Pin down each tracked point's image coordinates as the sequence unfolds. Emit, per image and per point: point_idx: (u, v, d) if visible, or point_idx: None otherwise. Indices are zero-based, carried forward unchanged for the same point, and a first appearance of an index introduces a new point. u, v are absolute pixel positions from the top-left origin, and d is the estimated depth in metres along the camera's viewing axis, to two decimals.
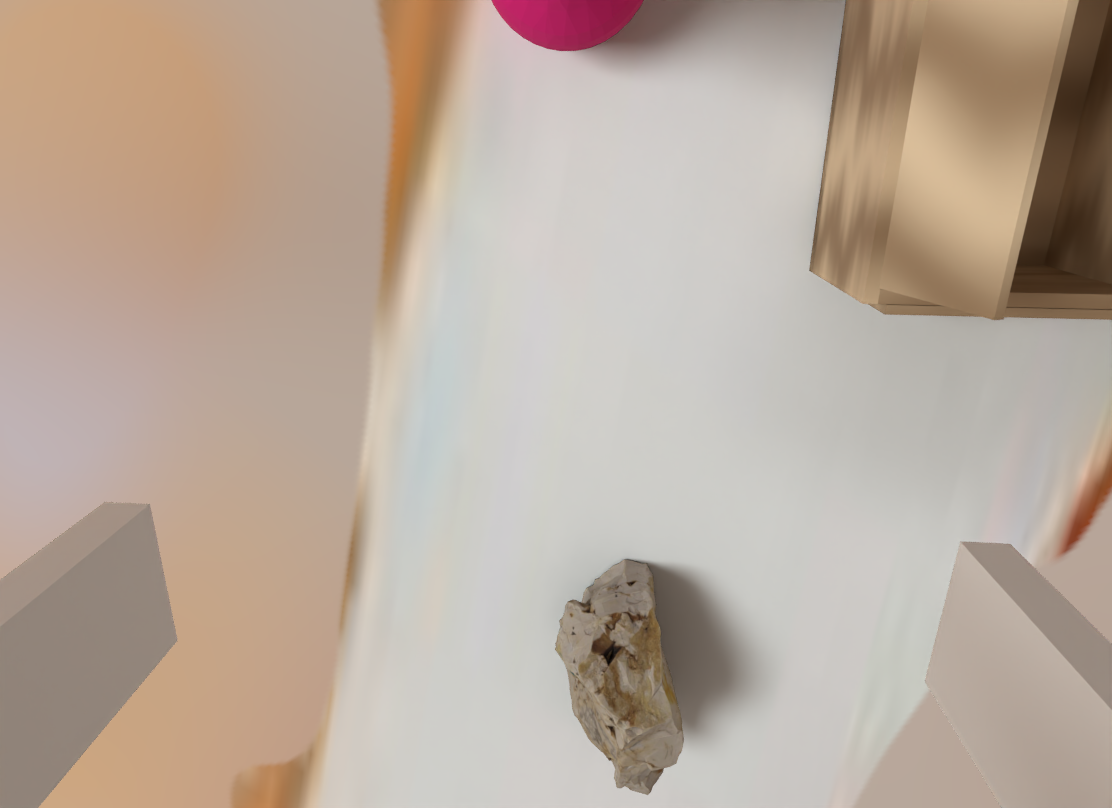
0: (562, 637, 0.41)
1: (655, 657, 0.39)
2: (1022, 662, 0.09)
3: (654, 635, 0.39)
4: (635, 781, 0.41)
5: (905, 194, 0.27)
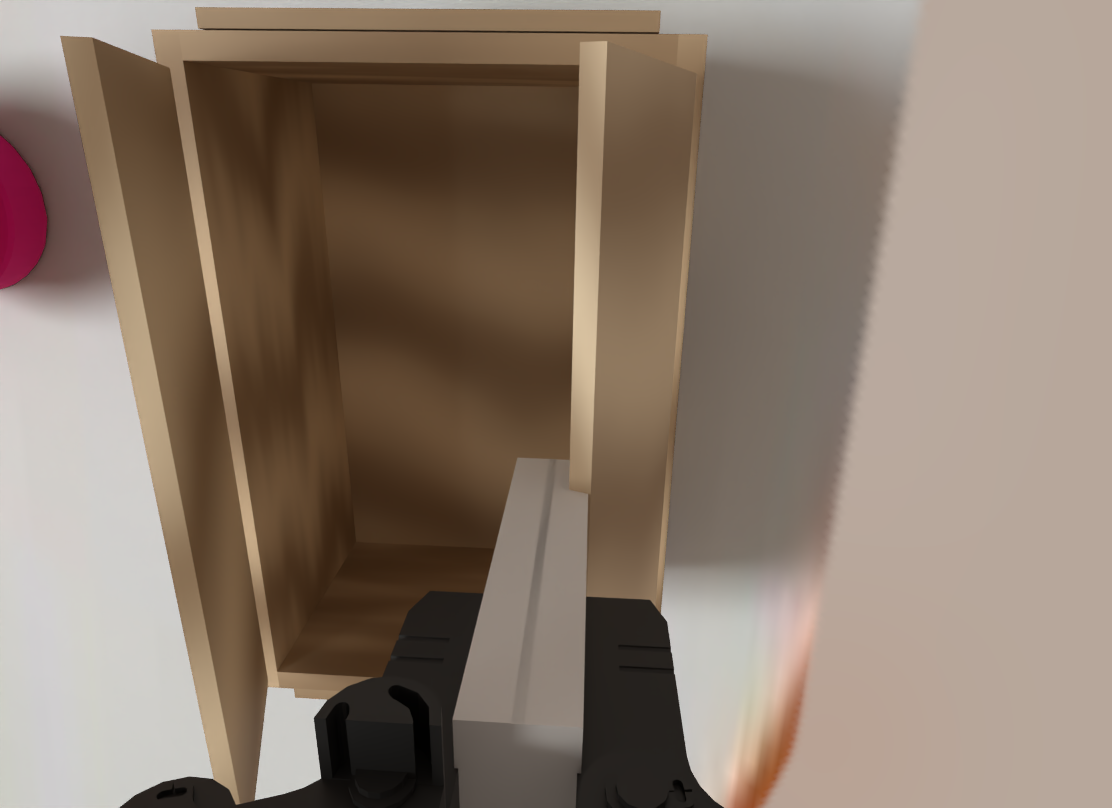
0: None
1: None
2: None
3: None
4: None
5: None
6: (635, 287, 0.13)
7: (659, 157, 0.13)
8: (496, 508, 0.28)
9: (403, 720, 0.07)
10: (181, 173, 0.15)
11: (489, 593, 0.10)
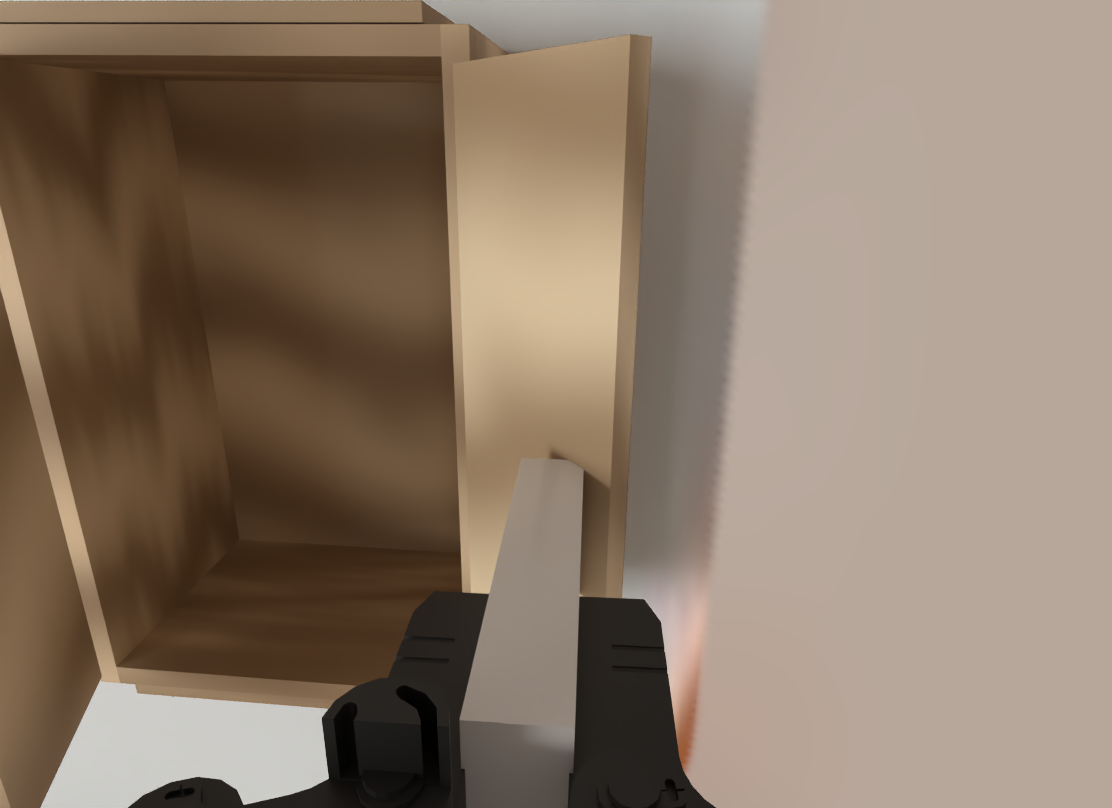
0: None
1: None
2: None
3: None
4: None
5: None
6: None
7: None
8: (374, 507, 0.27)
9: (411, 721, 0.07)
10: None
11: (494, 594, 0.10)
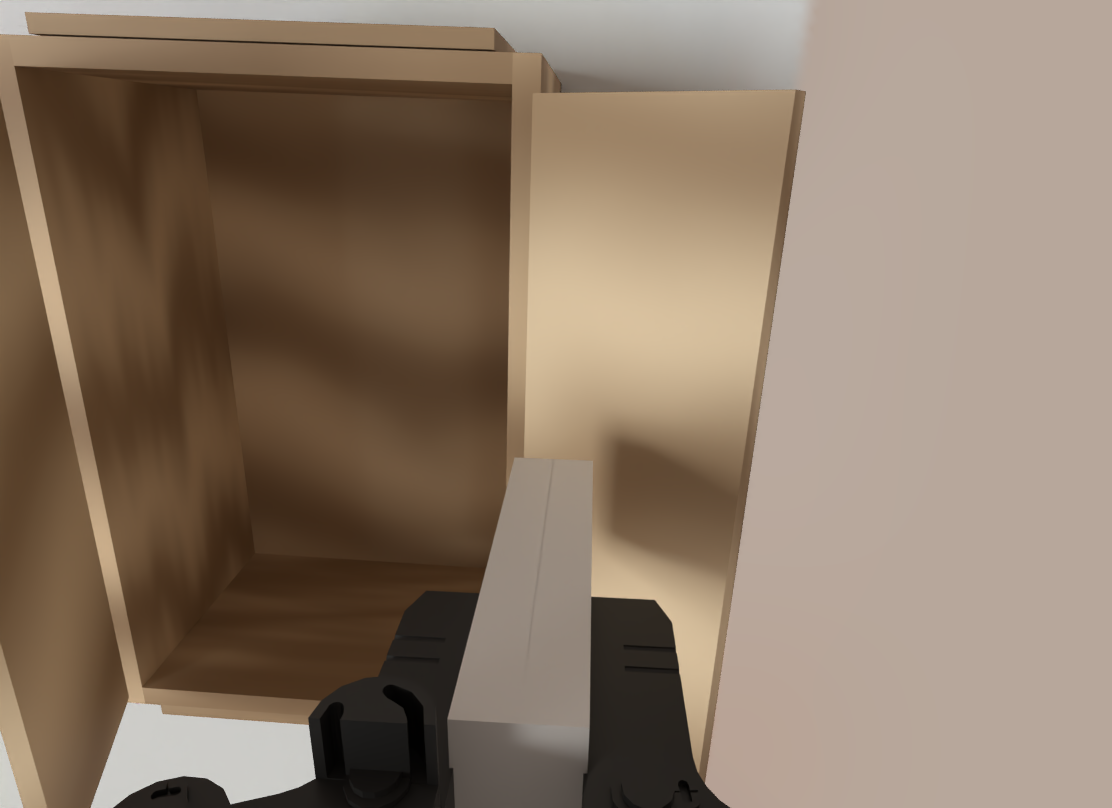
0: None
1: None
2: None
3: None
4: None
5: None
6: None
7: None
8: (395, 521, 0.27)
9: (398, 719, 0.07)
10: (7, 181, 0.15)
11: (485, 593, 0.10)
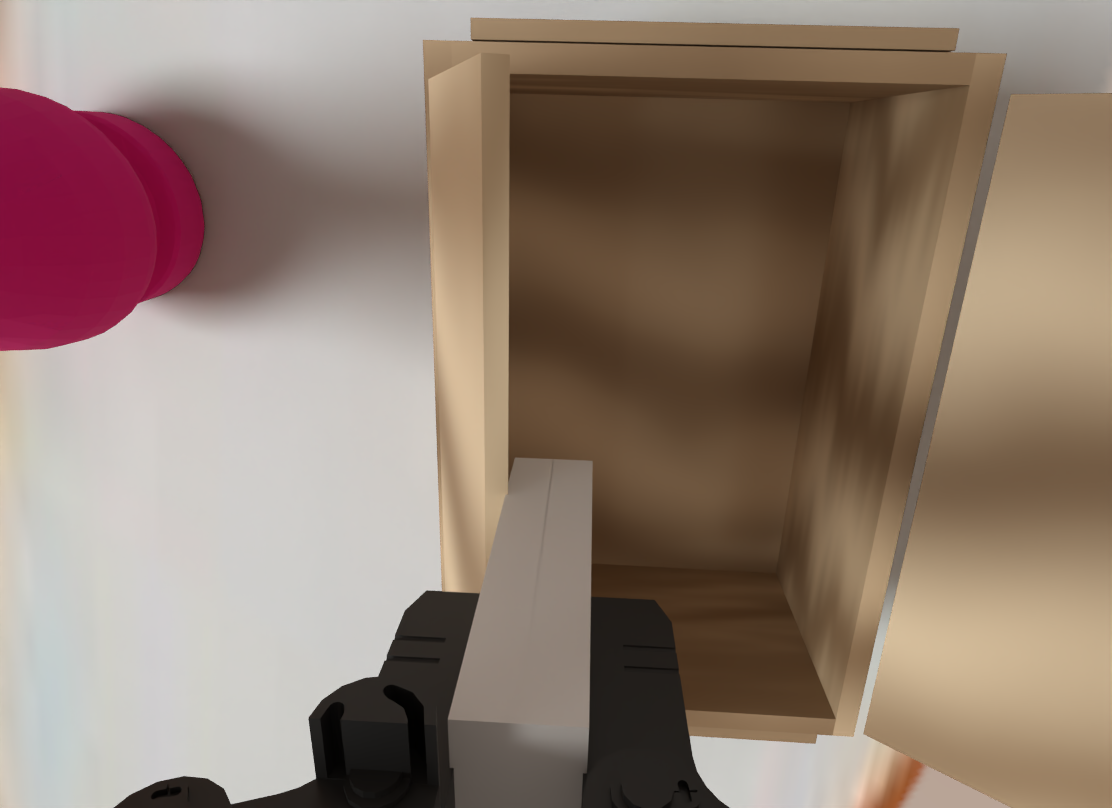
0: None
1: None
2: None
3: None
4: None
5: None
6: None
7: None
8: (647, 525, 0.27)
9: (398, 720, 0.07)
10: None
11: (485, 593, 0.10)
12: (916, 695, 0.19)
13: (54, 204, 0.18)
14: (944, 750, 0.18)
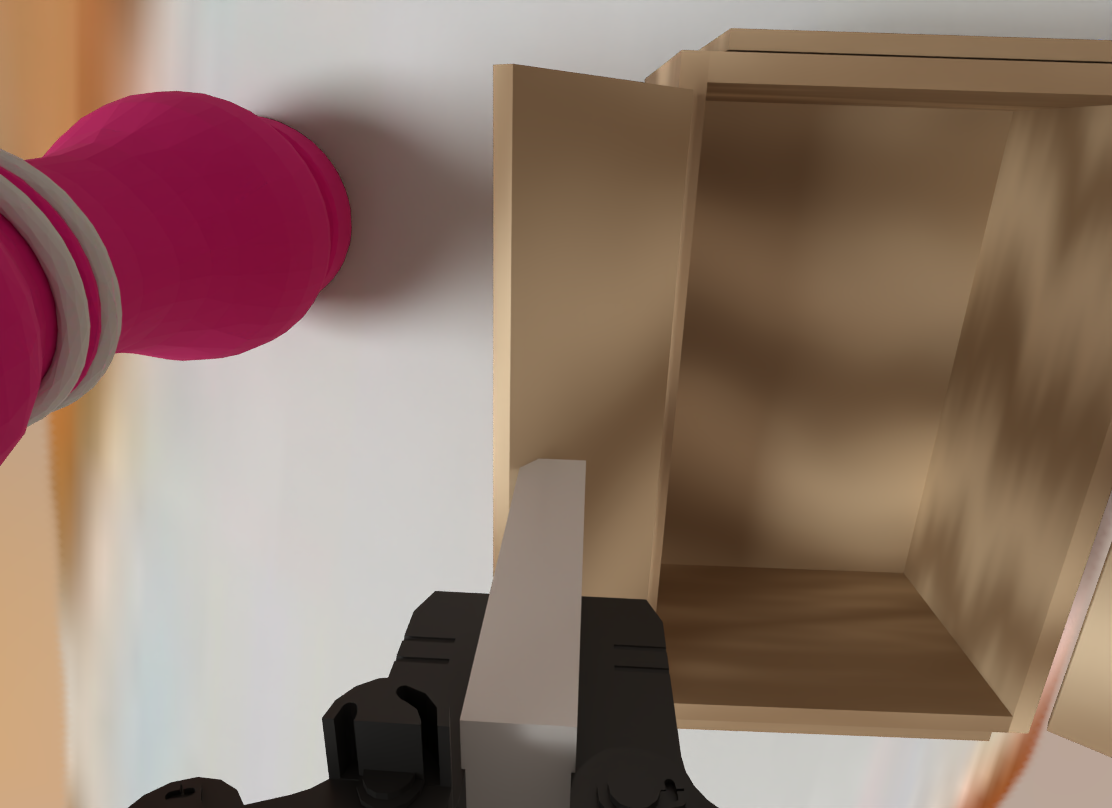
0: None
1: None
2: None
3: None
4: None
5: None
6: None
7: None
8: (779, 527, 0.27)
9: (411, 721, 0.07)
10: (670, 197, 0.15)
11: (494, 594, 0.09)
12: (1111, 691, 0.19)
13: (263, 212, 0.18)
14: None
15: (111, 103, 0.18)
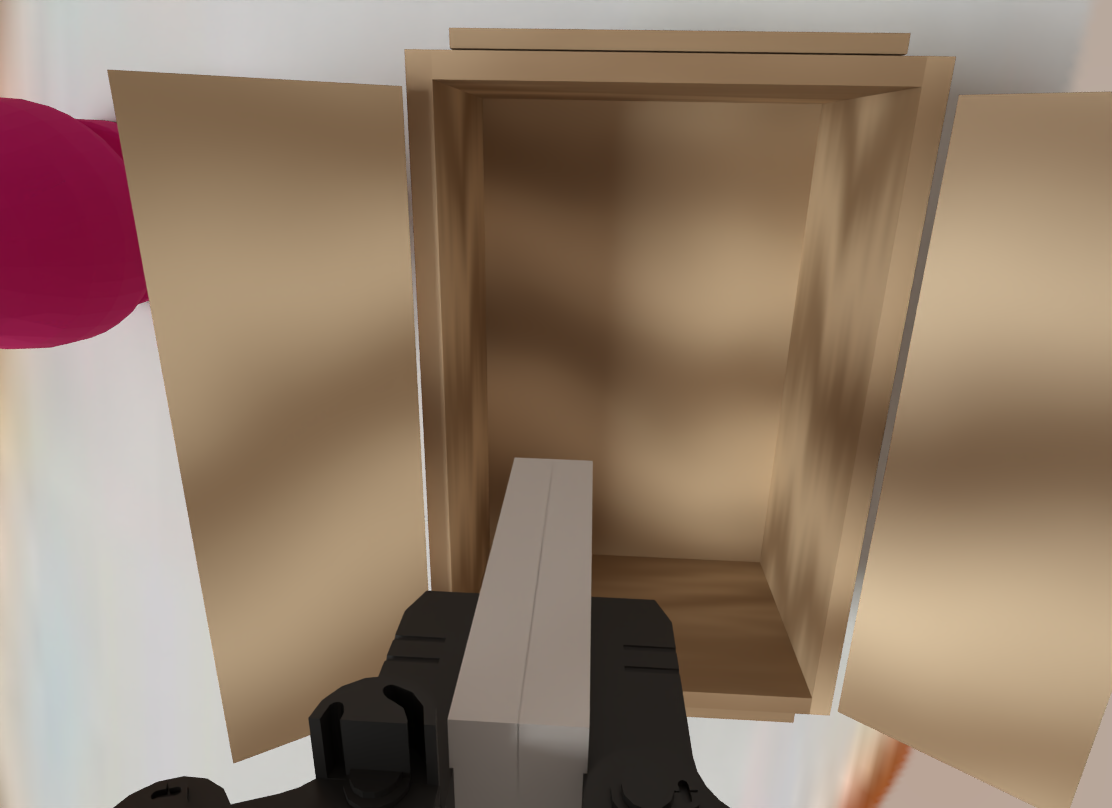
0: None
1: None
2: None
3: None
4: None
5: None
6: None
7: None
8: (633, 515, 0.28)
9: (398, 720, 0.07)
10: (382, 188, 0.16)
11: (485, 593, 0.10)
12: (886, 671, 0.19)
13: (58, 207, 0.19)
14: (913, 725, 0.19)
15: None
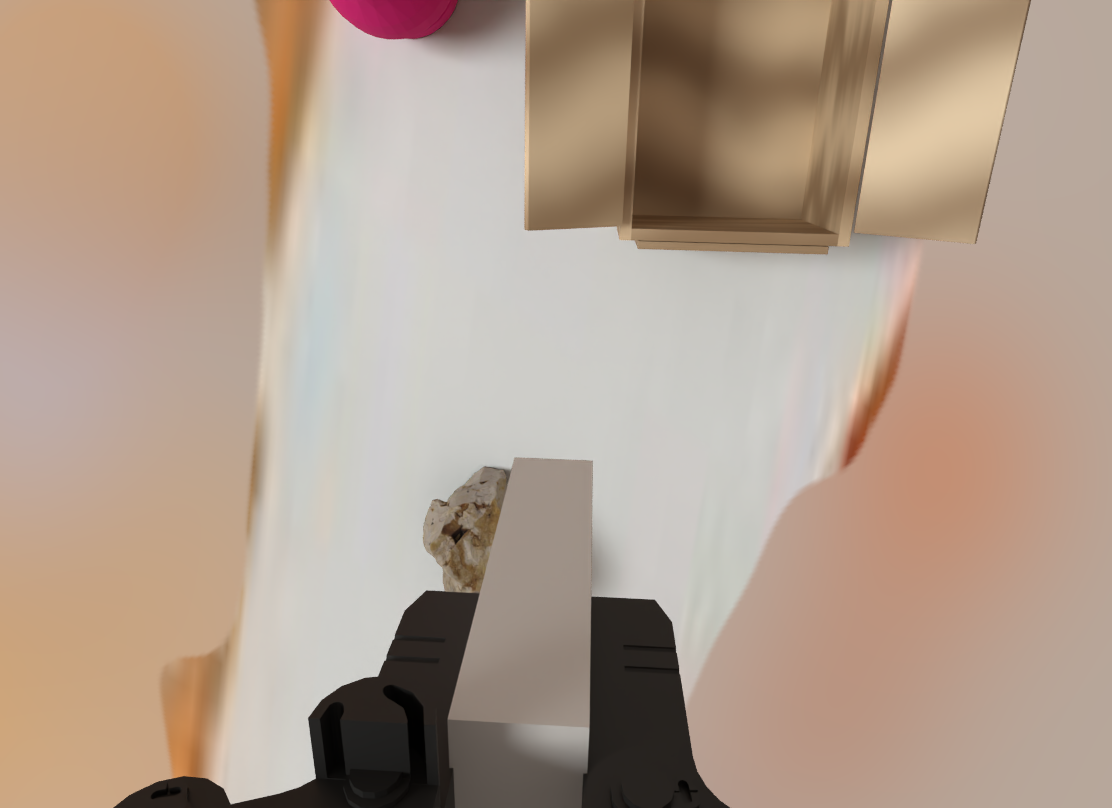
0: (425, 528, 0.49)
1: None
2: None
3: (496, 520, 0.47)
4: None
5: None
6: None
7: None
8: (721, 186, 0.44)
9: (398, 720, 0.07)
10: None
11: (485, 593, 0.10)
12: (881, 193, 0.35)
13: None
14: (896, 221, 0.35)
15: None
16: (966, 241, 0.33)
